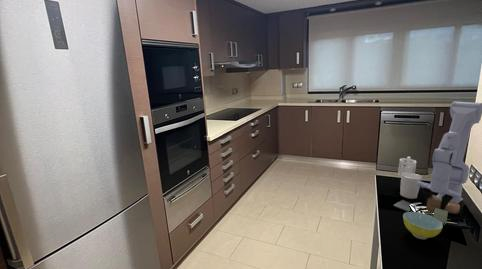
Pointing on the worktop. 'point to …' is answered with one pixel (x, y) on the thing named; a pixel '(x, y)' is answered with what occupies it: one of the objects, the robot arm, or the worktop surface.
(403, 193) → the white cup
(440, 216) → the sage cube
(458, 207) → the brown rounded disc
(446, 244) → the worktop surface
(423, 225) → the bowl
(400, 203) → the plate
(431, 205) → the walnut block
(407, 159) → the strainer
